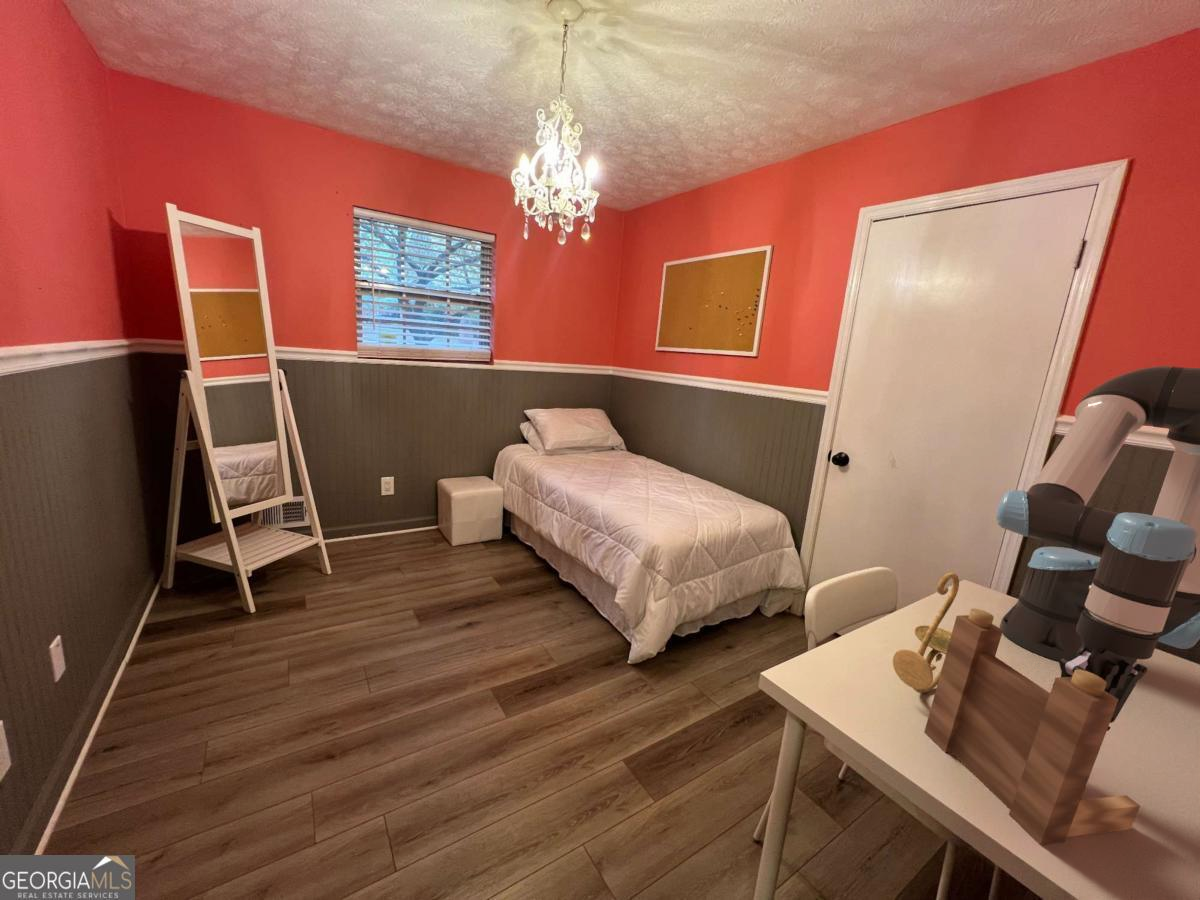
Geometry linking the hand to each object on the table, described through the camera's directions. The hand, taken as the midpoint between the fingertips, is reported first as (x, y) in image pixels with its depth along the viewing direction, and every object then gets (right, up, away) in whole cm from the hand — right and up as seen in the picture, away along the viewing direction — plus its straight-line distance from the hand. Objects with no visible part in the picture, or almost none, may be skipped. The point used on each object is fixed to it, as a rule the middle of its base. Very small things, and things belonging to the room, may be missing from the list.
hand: (1070, 757), depth 70 cm
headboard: (-9, -3, -1) cm, 9 cm away
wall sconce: (-11, +1, +17) cm, 20 cm away
